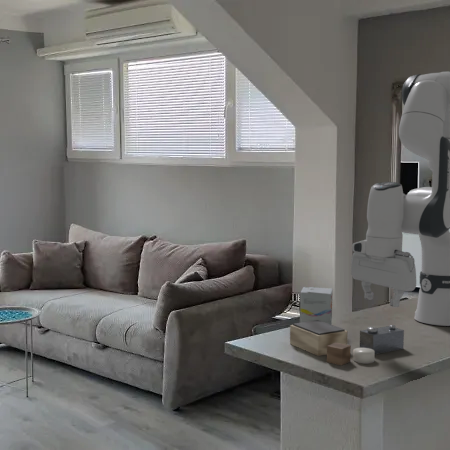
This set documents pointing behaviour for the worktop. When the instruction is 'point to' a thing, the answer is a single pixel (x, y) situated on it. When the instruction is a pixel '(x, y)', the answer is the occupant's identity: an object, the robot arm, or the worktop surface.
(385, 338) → the block
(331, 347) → the walnut block
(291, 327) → the stand
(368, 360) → the white egg shape
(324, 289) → the ink box
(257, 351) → the worktop surface
